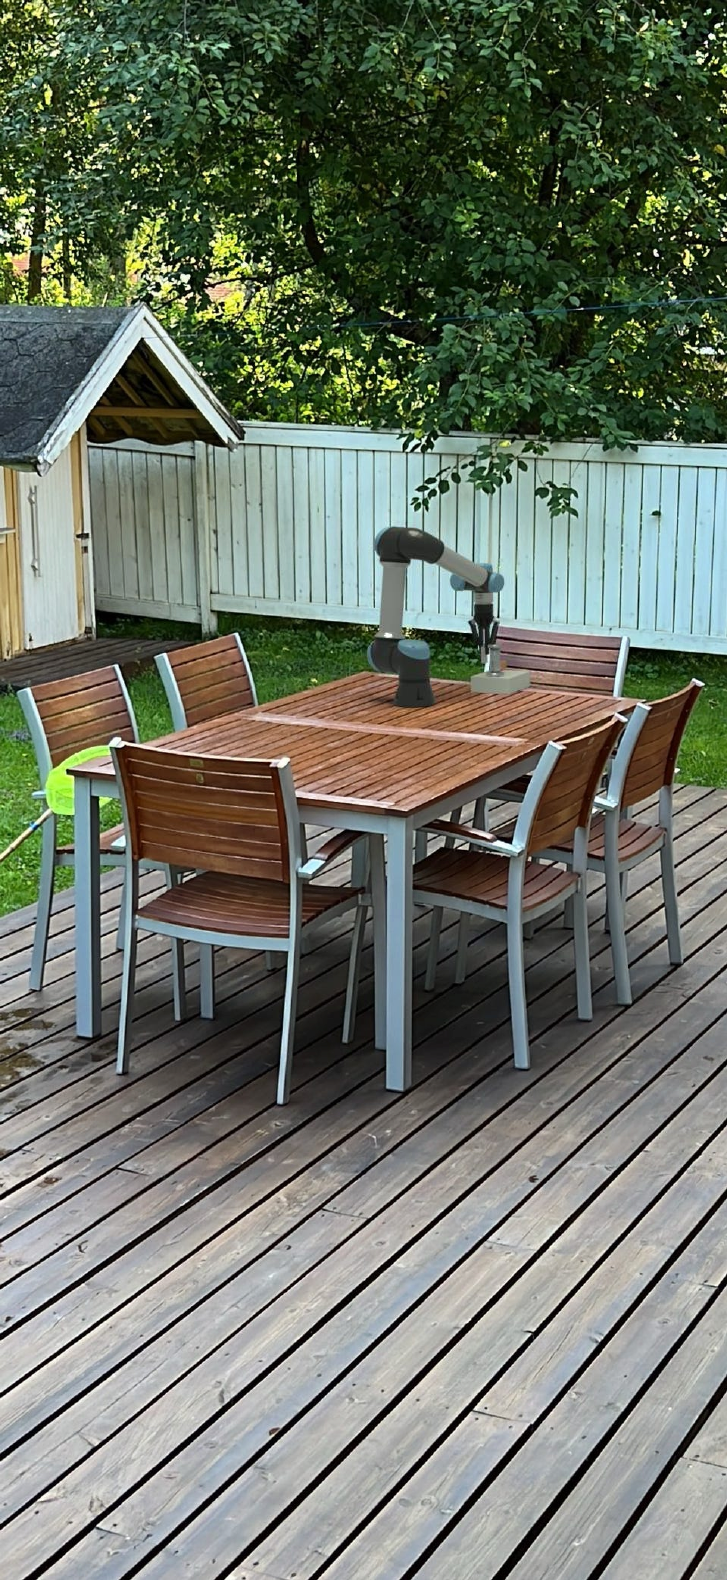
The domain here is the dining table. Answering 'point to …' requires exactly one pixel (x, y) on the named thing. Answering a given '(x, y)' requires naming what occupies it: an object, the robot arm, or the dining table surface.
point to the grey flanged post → (494, 661)
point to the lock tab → (503, 664)
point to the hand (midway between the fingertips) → (484, 662)
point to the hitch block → (501, 682)
